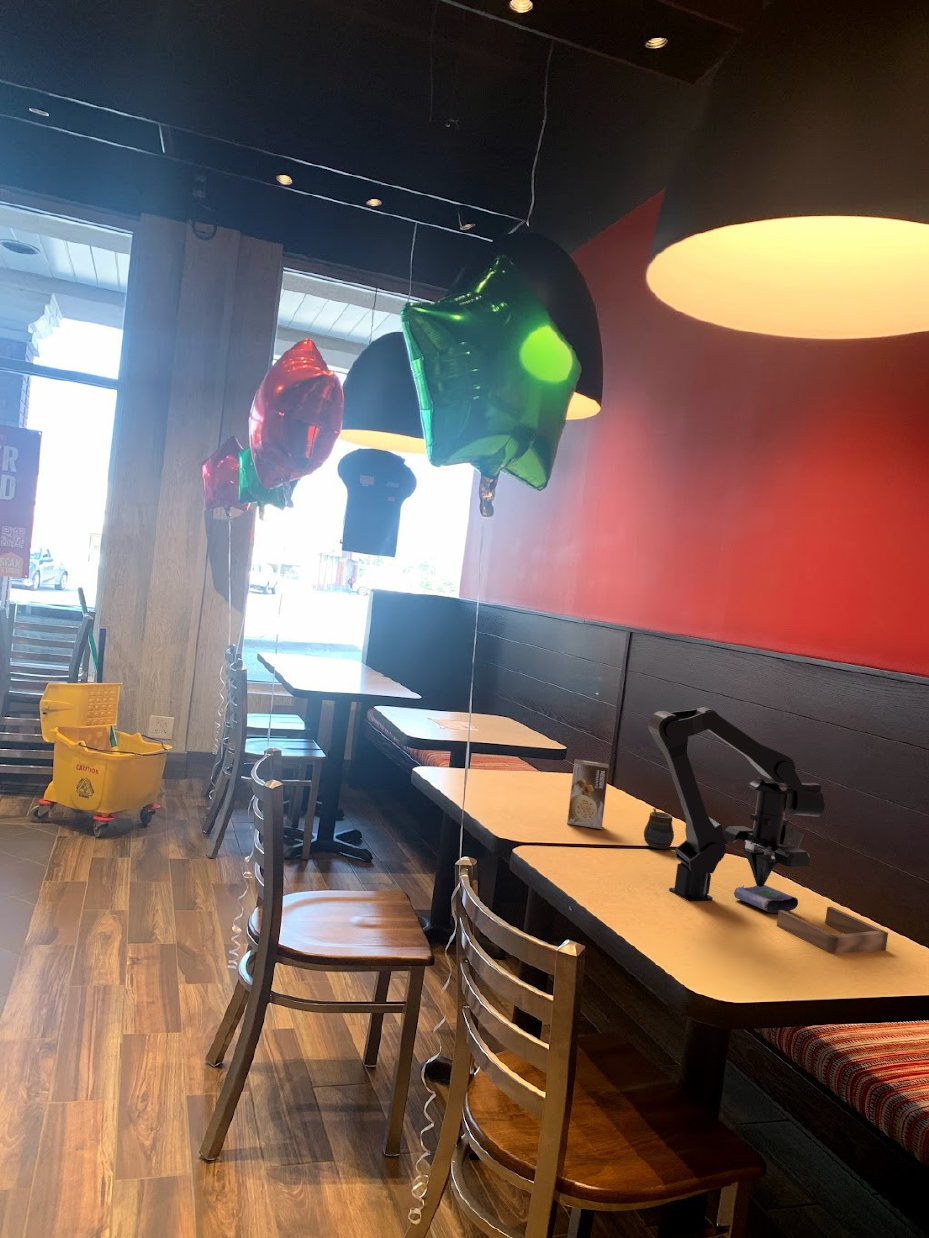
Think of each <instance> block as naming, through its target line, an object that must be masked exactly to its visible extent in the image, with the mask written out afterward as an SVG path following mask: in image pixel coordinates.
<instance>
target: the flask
mask: <svg viewBox="0 0 929 1238" xmlns="http://www.w3.org/2000/svg"><path fill="white" fill-rule="evenodd" d="M744 886H745V885H742V886H738V887H736V888H735V889H734V892H733V896H734V898H736V899H737V900H740V901H743V902H745V903H747V904H749V905H752V906H754V907H756V908H759V909H761V910H763V911H765V912H768V913H772V914H775V913H776V914H778V911H779V910H784V911H786V912H788V913H789V912H791V911H794V910H795V909H796V908H797V907H798V905H799V899H798V898H796V897H795V896H793V895H790V894H787V893H784V892H783V891H780V890H778V889H775V888H773V887H770V886H768V885H766V884H764V886H763V887H759V886H757V885H755V886H750V887H744Z"/></svg>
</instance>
